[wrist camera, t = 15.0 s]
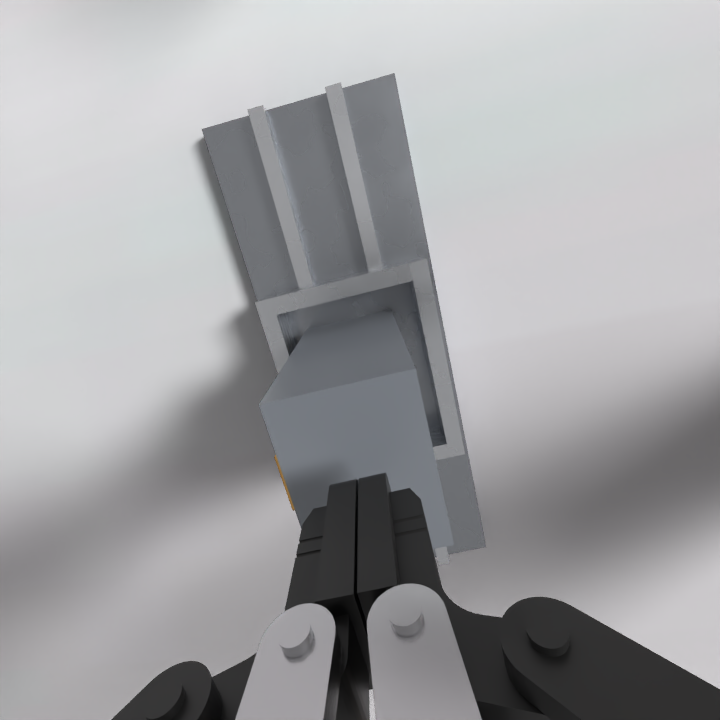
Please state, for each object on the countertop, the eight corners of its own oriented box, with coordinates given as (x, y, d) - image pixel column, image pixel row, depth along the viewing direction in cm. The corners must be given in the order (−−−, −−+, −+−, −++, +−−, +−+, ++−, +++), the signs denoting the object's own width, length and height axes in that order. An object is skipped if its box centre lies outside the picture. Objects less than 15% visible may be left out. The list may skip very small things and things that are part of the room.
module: (414, 413, 22) (454, 544, 12) (330, 431, 22) (307, 573, 13) (390, 309, 20) (415, 368, 11) (301, 330, 21) (248, 406, 11)
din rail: (482, 537, 25) (496, 572, 23) (345, 564, 26) (344, 601, 23) (393, 80, 18) (398, 52, 16) (208, 133, 19) (182, 115, 16)
